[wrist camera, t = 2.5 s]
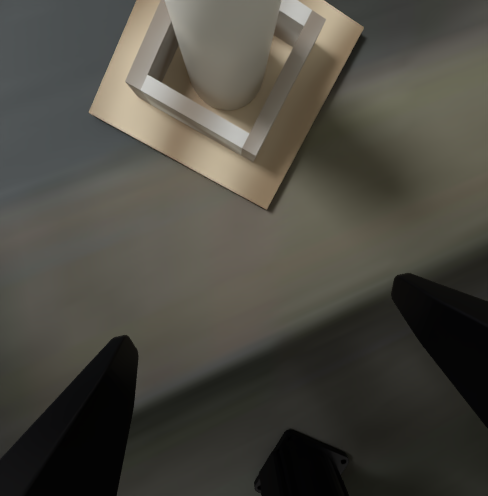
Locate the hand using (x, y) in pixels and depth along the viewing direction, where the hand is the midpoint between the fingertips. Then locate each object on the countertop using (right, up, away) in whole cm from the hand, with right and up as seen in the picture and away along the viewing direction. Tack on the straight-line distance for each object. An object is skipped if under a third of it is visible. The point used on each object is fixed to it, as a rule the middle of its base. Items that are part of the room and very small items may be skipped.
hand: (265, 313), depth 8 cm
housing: (-2, +15, +9) cm, 17 cm away
